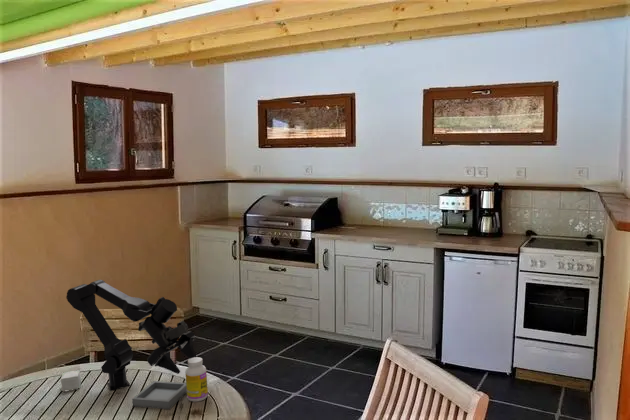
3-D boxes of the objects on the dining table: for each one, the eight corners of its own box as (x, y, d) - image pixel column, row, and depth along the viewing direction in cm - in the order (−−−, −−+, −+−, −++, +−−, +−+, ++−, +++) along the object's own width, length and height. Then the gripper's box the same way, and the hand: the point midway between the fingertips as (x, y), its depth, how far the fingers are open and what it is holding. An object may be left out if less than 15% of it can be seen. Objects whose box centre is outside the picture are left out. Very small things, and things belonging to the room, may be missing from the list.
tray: (132, 406, 168) (132, 398, 168) (154, 387, 180) (153, 380, 180) (169, 409, 165) (168, 401, 164) (188, 390, 177) (188, 383, 177)
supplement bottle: (203, 402, 168) (200, 364, 166) (184, 401, 169) (180, 363, 168) (211, 393, 174) (208, 356, 173) (192, 392, 176) (189, 355, 174)
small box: (64, 385, 186) (62, 372, 186) (81, 382, 188) (80, 369, 187) (61, 392, 181) (60, 378, 180) (79, 389, 182) (78, 375, 182)
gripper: (151, 325, 163) (182, 363, 160) (188, 307, 180) (217, 341, 177) (134, 347, 168) (164, 384, 164) (172, 328, 185) (200, 361, 181)
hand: (188, 367), depth 172 cm, fingers open, 9 cm apart
